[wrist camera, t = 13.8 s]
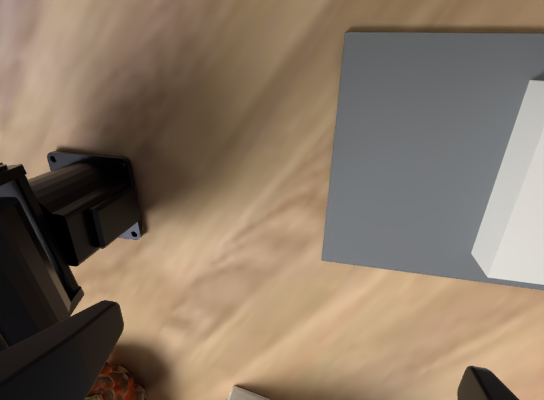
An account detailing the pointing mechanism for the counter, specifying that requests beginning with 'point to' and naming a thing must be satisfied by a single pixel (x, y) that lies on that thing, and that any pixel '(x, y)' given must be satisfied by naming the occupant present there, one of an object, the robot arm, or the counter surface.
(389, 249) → the build board
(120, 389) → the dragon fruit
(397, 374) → the counter surface
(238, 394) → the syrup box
